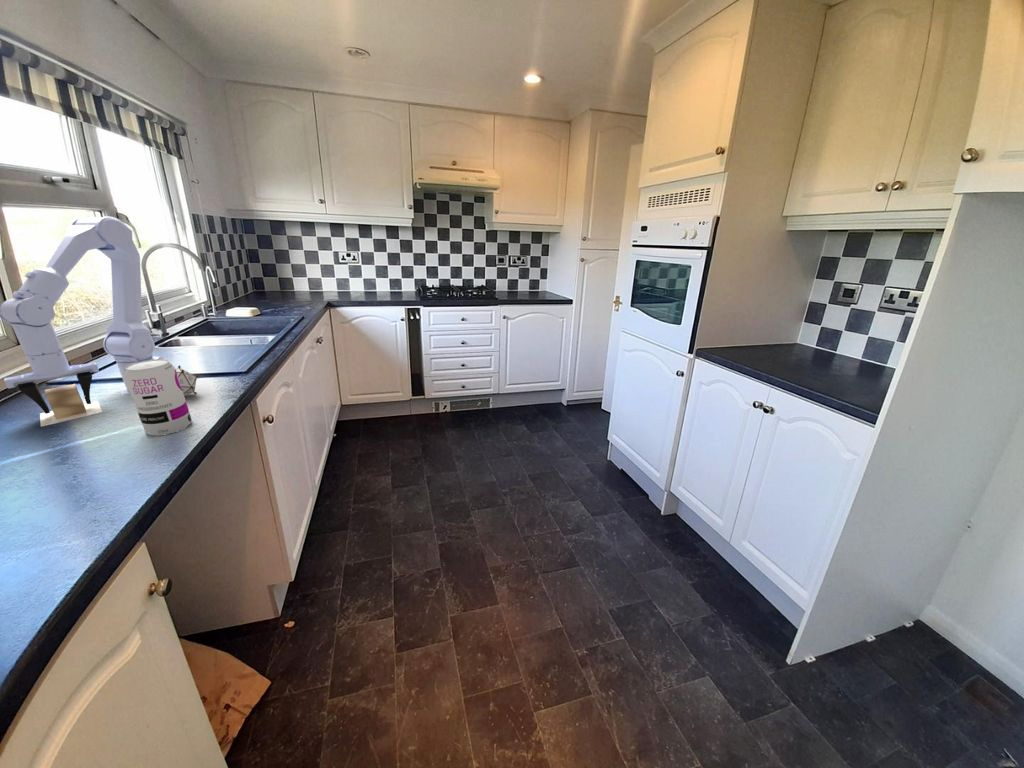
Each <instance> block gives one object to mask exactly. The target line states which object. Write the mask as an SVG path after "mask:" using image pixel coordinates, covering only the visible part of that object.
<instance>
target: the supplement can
mask: <svg viewBox="0 0 1024 768" xmlns="http://www.w3.org/2000/svg"><path fill="white" fill-rule="evenodd" d="M176 369H177V368H176V367H175V365H173V364H172V363H171V362H170V361H169V360H168V359H165V358H164V359H156V360H148V361H142V362H138V363H134V364H131V365H129V366H127V367H126V371H125V374H124V377H125V380H126V383H127V385H128V388H129V391H130V393H131V394H130V396H131V399H132V402H133V403H134V406H135V409H136V413H137V414H138V416H139V419H140V421H141V422H140V423H141V425H142V427H143V430H144V432H145V433H146V434H149V435H150V434H151V436H153V435H162V436H165V435H164V434H168V435H171V434H170V433H172V434H175V433H174V432H176V433H177V431H178V432H181V431H183V430H185V429H187V428H188V427H189V426H190V425H191V423H192V421H193V419H192V416H191V413H190V410H189V407H188V404H187V401H186V398H185V396H184V394H183V391H182V388H181V385H180V382H179V379H178V375H177V372H176ZM188 425H189V426H188ZM187 426H188V427H187ZM186 427H187V428H186ZM184 428H185V429H184ZM182 429H183V430H182ZM180 430H181V431H180Z"/></svg>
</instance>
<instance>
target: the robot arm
mask: <svg viewBox="0 0 1024 768" xmlns="http://www.w3.org/2000/svg"><path fill="white" fill-rule="evenodd" d="M90 250H98V251H99V252H101V253H102V254H103V255H105V256H106V257H108V258H109V260H110V265H111V267H110V268H111V286H112V287H111V289H112V291H111V292H112V294H111V295H112V316H113V318H112V319H113V321H112V323H110V325H108V326H107V328H106V335H105V337H104V338H103V342H102V348H103V349H104V351H105V352H106V353H107V354H108V355H110V356H113V358H114V360H115V363H116V365H117V368H118V371H119V373H120V376H121V378H122V381H123V383H124V386H125V388H126V389H125V390H124V391H122V392H121V393H120V395H131V393H130V391H129V388H128V385H127V383H126V380H125V377H124V374H125V371H126V367H127V366H129V365H131V364H134V363H138V362H142V361H148V360H156V359H165V358H164V357H163V356H154V355H153V354H154V353H155V349H156V344H155V342H154V340H153V337H152V335H151V334H152V331H151V330H150V329H149V328H148V327H147V326H146V325H145V324H143V315H142V314H143V311H142V306H143V305H142V282H141V281H142V279H141V276H142V275H141V256H140V253H139V251H138V248H137V247H136V245H135V243H134V240H133V230H132V229H131V228H130V227H128V226H127V225H126V224H125V223H124V222H123V221H122V220H120V218H117V217H114V216H103V217H102V216H101V217H99V216H98V217H88V216H87V217H86V216H80V217H76V218H75V219H73V221H72V222H71V225H69V226H68V227H66V229H65V234H64V237H63V239H62V240H61V242H60V244H59V245H58V247H57V248H56V250H55V252H53V254H52V256H51V258H50V259H49V261H48V263H47V264H46V266H45V267H42V268H41V267H40V268H35V269H33V270H32V271H27V272H26V274H25V275H24V277H26V278H27V279H26V280H25V281H24V282H23V284H22V285H21V286H20V288H19V289H18V290H16V291H13V292H12V294H11V295H12V296H13V298H9V299H6V300H5V301H3V302H2V304H1V305H0V319H1V320H2V321H4V322H5V323H7V324H8V325H10V326H11V328H12V329H13V331H14V334H15V335H16V338H17V340H18V343H19V344H20V347H21V349H22V351H23V353H24V355H25V358H26V360H27V361H28V364H29V366H30V368H31V370H32V372H28V373H24V374H20V375H14V376H10V377H5V378H4V379H3V381H4V384H5V386H6V387H7V389H14V388H16V387H18V390H19V392H20V393H22V394H23V395H25V396H27V397H28V398H30V399H31V400H32V401H33V402H35V403H36V404H37V405H38V406H39V407H40V408H41V409H42V410H43V413H45V414H47V413H50V409H49V405H48V404H47V403H46V400H44V397H43V395H42V393H41V391H40V389H39V386H38V384H37V383H40V382H47V381H52V380H57V379H62V378H64V379H65V378H68V377H74V376H76V379H77V381H78V383H79V385H80V387H81V390H82V393H83V397H84V399H85V400H84V401H85V402H86V403H87V404H91V402H92V401H91V396H90V395H91V394H90V393H91V385H92V380H93V375H92V373H98V372H100V370H99V367H98V364H97V362H91V363H90V362H89V363H84V364H83V363H82V364H81V363H80V364H75V365H70V364H69V361H68V359H67V357H66V354H65V352H64V349H63V348H62V345H61V343H60V340H59V338H58V335H57V333H56V331H55V329H54V326H53V324H52V322H51V321H52V320H53V319H55V315H56V314H55V310H54V307H55V305H56V303H57V302H58V301H59V299H60V298H61V297H62V295H63V294H64V292H65V291H66V290H67V288H68V287H69V285H70V283H69V280H68V279H67V276H68V275H69V273H70V272H72V270H73V269H74V268H75V266H76V265H77V264H78V263H79V261H80V260H81V259H82V258H83V257H84V255H85V254H86V253H88V251H90ZM86 403H85V404H86Z"/></svg>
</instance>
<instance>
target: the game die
mask: <svg viewBox="0 0 1024 768" xmlns="http://www.w3.org/2000/svg"><path fill="white" fill-rule="evenodd" d="M175 369H176V372H177V375H178V379H179V382H180V385H181V388H182V391H183V394H184V397H185V396H188V395H191V394H195V395H197V394H198V392H196V391H195V389H196V385H197V379H198V378H200V377H201V374H198V375H195V374H193V373H191V372H188V370H184V369H182V367H181V365H180V364H179V365H178V366H177V368H175Z"/></svg>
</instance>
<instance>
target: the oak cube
mask: <svg viewBox="0 0 1024 768" xmlns="http://www.w3.org/2000/svg"><path fill="white" fill-rule="evenodd" d="M44 395H45V398H46V399H47V402H48V404H49V406H50V408H51V411H53V413H54V415H55V417H56V419H60V418H65V417H69V416H73V415H78V414H82V413H86V409H85V406H84V404H85V403H84V402H83V400H82V396H81V394H80V391H79V389H78V387H77V386H76V383H73V384H68V385H63V386H58V387H53V388H48V389H44Z"/></svg>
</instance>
